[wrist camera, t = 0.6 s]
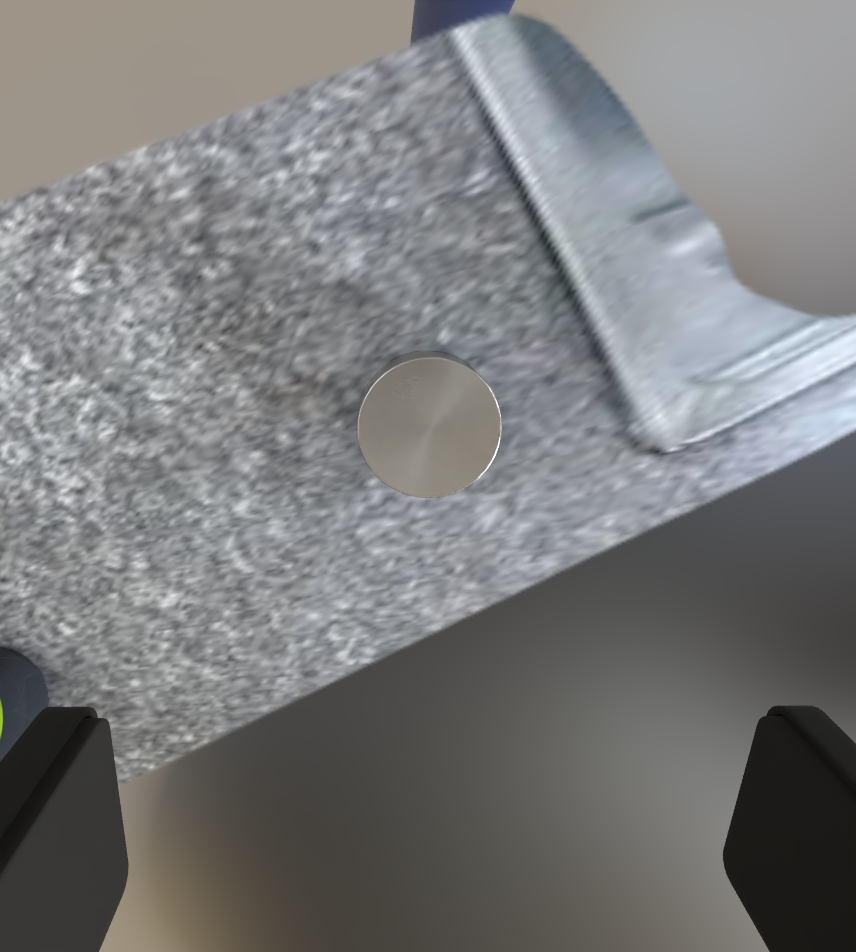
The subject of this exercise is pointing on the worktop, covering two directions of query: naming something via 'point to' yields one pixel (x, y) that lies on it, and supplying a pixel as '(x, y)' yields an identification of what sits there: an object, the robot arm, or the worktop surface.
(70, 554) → the worktop surface
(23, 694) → the beverage can
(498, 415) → the brushed steel puck
